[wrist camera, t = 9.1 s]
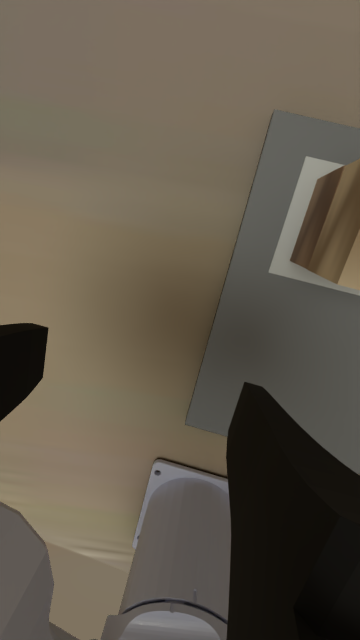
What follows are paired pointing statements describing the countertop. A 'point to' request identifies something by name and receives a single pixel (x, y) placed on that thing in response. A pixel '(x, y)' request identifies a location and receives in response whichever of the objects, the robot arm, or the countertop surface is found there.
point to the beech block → (341, 234)
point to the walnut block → (315, 217)
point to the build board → (286, 301)
